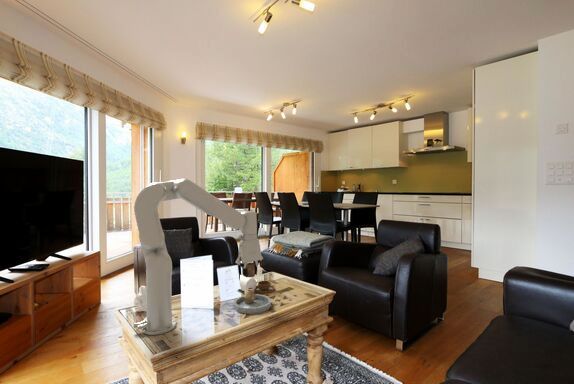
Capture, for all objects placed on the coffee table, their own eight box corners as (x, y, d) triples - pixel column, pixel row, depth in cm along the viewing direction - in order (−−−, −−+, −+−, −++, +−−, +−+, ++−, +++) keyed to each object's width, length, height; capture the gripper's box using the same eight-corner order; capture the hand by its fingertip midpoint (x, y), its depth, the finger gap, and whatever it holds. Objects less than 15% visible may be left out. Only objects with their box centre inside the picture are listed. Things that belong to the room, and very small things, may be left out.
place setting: (281, 293, 161) (281, 282, 161) (250, 301, 149) (249, 290, 149) (265, 285, 175) (265, 275, 175) (234, 292, 163) (234, 281, 163)
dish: (243, 317, 129) (243, 311, 129) (227, 304, 144) (227, 299, 144) (277, 307, 139) (277, 302, 139) (259, 296, 154) (259, 292, 154)
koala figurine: (152, 311, 136) (152, 285, 136) (136, 315, 132) (136, 288, 132) (148, 305, 143) (147, 281, 143) (132, 309, 139) (132, 284, 139)
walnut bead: (247, 278, 135) (247, 265, 135) (243, 275, 139) (243, 263, 139) (256, 276, 138) (256, 263, 138) (252, 273, 142) (251, 261, 142)
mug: (246, 294, 157) (246, 280, 157) (234, 290, 164) (234, 276, 164) (261, 288, 166) (261, 274, 166) (249, 285, 173) (249, 271, 173)
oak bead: (247, 305, 141) (247, 292, 141) (243, 302, 145) (242, 289, 145) (255, 302, 144) (255, 290, 144) (251, 300, 148) (251, 288, 148)
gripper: (236, 240, 130) (237, 280, 130) (268, 236, 140) (269, 273, 140) (229, 238, 136) (230, 276, 137) (260, 234, 146) (261, 270, 146)
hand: (250, 274), depth 138 cm, fingers closed on walnut bead, 4 cm apart
